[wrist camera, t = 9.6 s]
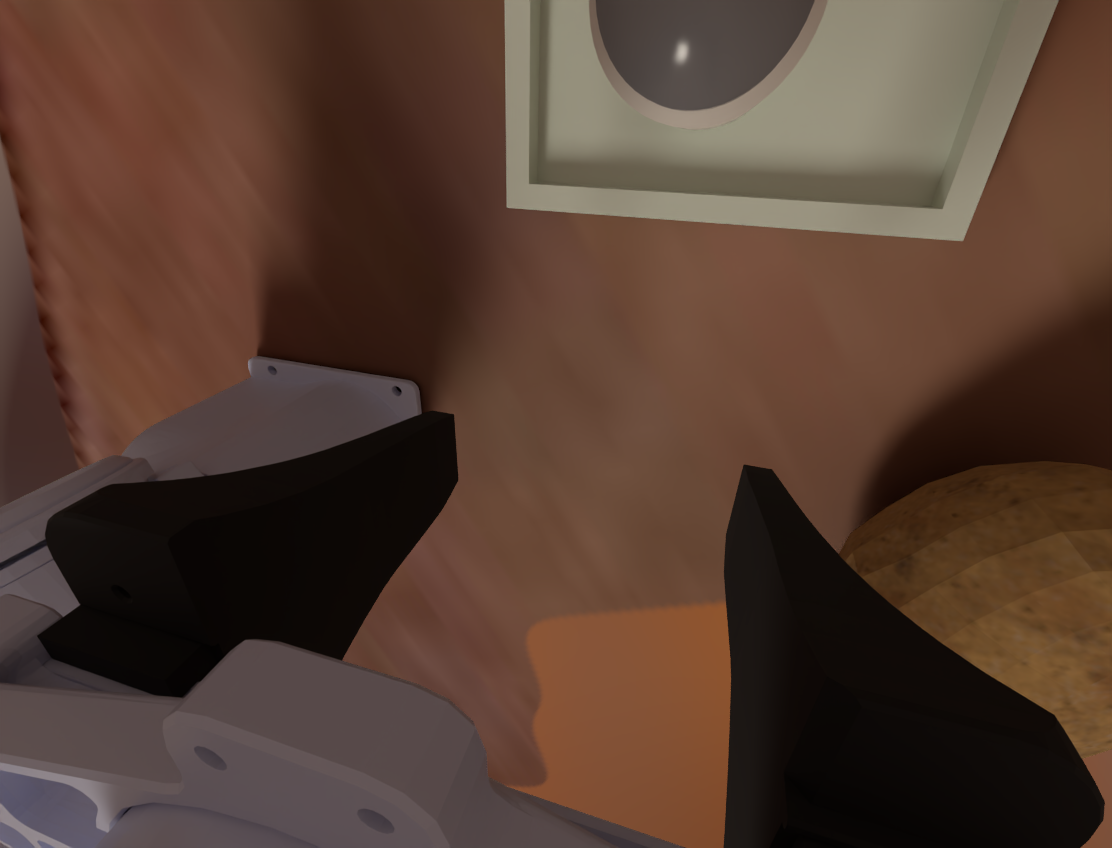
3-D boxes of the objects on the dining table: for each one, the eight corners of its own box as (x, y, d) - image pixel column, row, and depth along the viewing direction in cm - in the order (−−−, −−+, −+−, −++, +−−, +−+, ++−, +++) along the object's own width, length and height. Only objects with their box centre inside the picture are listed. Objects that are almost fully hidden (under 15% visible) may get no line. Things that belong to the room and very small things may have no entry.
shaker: (621, 125, 17) (571, 119, 11) (642, -65, 14) (592, -197, 9) (769, 135, 16) (798, 135, 10) (816, -65, 14) (889, -213, 8)
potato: (733, 592, 25) (737, 758, 18) (962, 351, 18) (1111, 480, 11) (917, 689, 25) (990, 894, 18) (1229, 484, 17) (1557, 703, 10)
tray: (521, 203, 19) (506, 207, 18) (523, -181, 15) (502, -215, 13) (942, 233, 16) (962, 241, 15) (1122, -244, 11) (1177, -297, 10)
